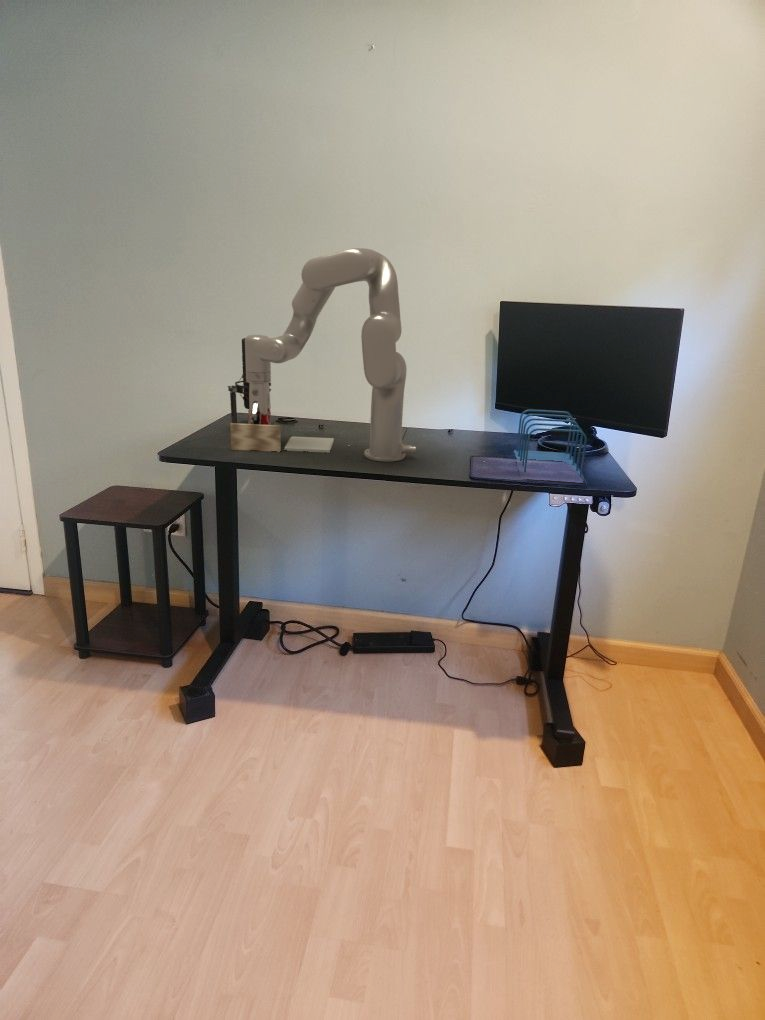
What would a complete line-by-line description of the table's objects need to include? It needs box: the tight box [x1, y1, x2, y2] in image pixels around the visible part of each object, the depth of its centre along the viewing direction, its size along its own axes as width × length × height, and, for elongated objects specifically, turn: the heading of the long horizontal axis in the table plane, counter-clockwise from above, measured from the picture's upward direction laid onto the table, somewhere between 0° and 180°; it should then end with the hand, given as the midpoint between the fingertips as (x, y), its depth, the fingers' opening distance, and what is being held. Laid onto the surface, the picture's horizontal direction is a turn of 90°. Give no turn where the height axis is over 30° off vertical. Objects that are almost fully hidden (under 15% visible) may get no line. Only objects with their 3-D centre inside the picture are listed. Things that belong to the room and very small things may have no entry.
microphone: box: [227, 337, 275, 425], centre depth 220 cm, size 14×13×30 cm
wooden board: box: [229, 422, 282, 453], centre depth 198 cm, size 15×1×8 cm, turn 89°
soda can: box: [247, 408, 272, 425], centre depth 206 cm, size 7×7×12 cm
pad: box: [284, 435, 335, 454], centre depth 207 cm, size 14×14×1 cm
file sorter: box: [513, 409, 588, 480], centre depth 192 cm, size 25×17×15 cm
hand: (259, 432), depth 207 cm, fingers closed on soda can, 6 cm apart
